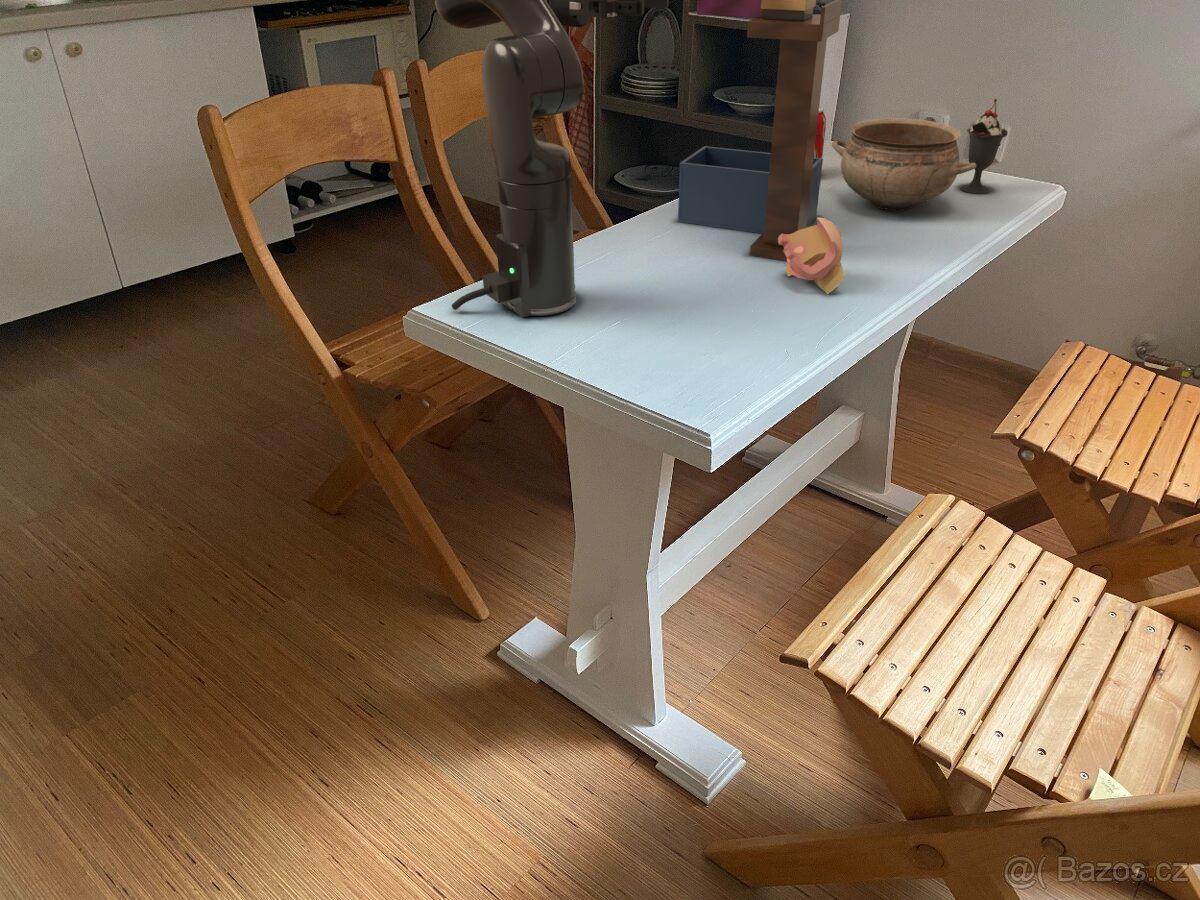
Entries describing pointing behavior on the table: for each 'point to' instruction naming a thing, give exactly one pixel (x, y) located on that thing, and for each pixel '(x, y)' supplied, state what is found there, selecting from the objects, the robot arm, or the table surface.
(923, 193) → the cooking pot
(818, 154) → the soda can
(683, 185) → the blue open box
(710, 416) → the table surface
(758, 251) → the dark wooden post
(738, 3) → the brush
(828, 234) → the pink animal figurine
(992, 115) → the sundae
